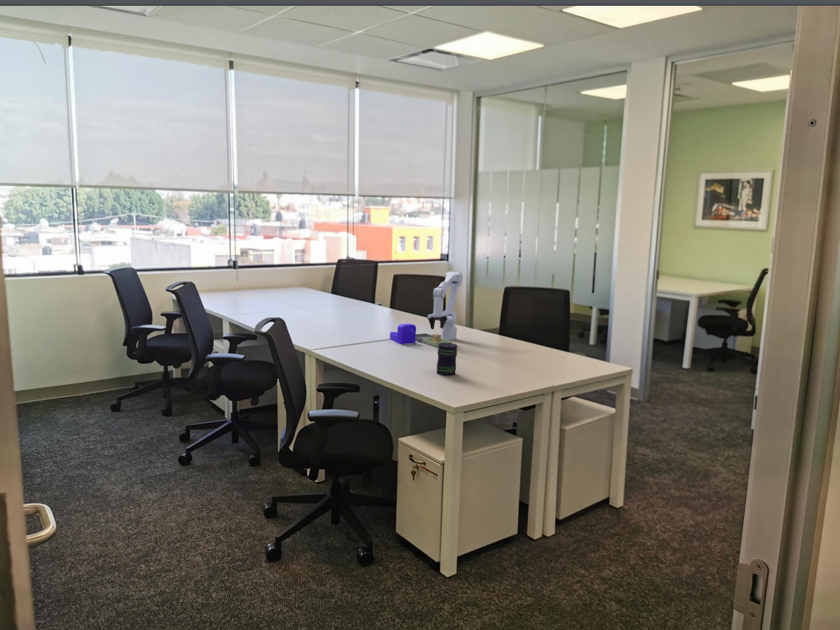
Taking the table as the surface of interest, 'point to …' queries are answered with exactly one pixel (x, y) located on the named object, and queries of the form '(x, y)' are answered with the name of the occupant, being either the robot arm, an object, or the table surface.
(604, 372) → the table surface
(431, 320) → the robot arm
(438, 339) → the oak block
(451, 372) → the storage jar
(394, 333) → the bracket
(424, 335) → the charcoal bin
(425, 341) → the olive bin
